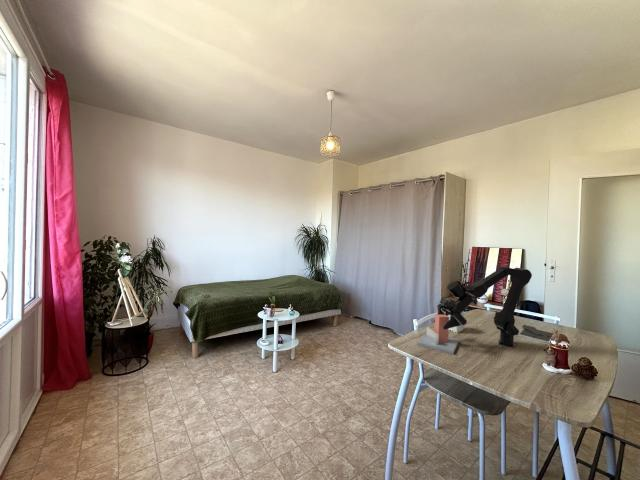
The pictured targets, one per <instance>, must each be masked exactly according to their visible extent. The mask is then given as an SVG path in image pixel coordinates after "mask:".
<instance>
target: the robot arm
mask: <svg viewBox="0 0 640 480" xmlns="http://www.w3.org/2000/svg"><path fill="white" fill-rule="evenodd" d="M507 276H509V280H510V282H511V283H510V287H509V290H508V292H507V295H506V298H505V300H504V303H503V306H502V309H501V310H500V311H499V312H498V311H496V312H495V313H494V317H493V323H494V326H495V327H496V329H497V330H500V332H499V339H498V345H501V346H506V347H511V348H515V347H516V346H515V341H514V340H515V337H514V336H515V335H518V333H519V330H520V329H519V328H517V327H516V326H515V322H516V320H515V315H514V314H515V312H516V311H515V310H516V308H517V306H518V303H519V300H520V296H521V294H522V290H523V288H524V287H525V286H527V285H528V284H529V283H530V281H531V279H532V276H533V274H532V272H531V271H530V269H525V268H520V267H514V268H511V267H509V266H503V265H502V266H499V267H498V269H496V270H495V271H493V272H492V273H490V274H489V275H487V276H486V277H484V278H482V279H481V280H479V281H478V280H477V281H475V282H471V283H469V284H468V285H467V286H464V285H463V284H462V283H461V281H460V280H456V281H452V282H450V283H449V284H448V285H447V286H446V289H447V290H448V291H449V293H450V294H451V295H452V296H453V297H454V298H457V299H456V300H454V299H452V298H449V299H447V298H445V297H443V296H442V297H441V299H440V301H439V304H437V306H436V307H437V309H436V310H437V314H436V315H446V316H448V315H450V320H449V321H448V322H447V323H446V325H445V326H444V327H443V329H444V330H445V329H449V328H452V327H456V326H462V325H463V327H464V326H465V325H466V324H467V323H468V322H467V321H468V320H467V319H466V318H465V316H464V317H463V316H462V315H461V313H462V312H463V311H464V313H466V312H467V310H466V309H468V308H469V306H470V305H471V304H473V305H476V306H477V305H478V303H477V298H479V299H480V298H482V297H483V296H484V295H485V294H486V293H488V290H489V289H490V288H492V286H494V285H495V284H497V283H499V282H500V281H502V280H503V279H505V278H506V277H507ZM474 297H475V298H474ZM433 323H435V319H434V320H433ZM461 324H462V325H461Z"/></svg>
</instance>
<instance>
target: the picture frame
mask: <svg viewBox="0 0 640 480" xmlns="http://www.w3.org/2000/svg"><path fill="white" fill-rule="evenodd" d="M518 330H519V333H518V335H515V336H514V338H519V339H523V340H527V341H530V342H534V343H537V344H541V343H542V345H545V344H549V341H550V339H551V337H552V335H553V334H554V333H555V332H552V331H548V330H543V329H539V328H536V327H535V326H531V325H527V324H523V325H522V326H521V328H520V329H518Z"/></svg>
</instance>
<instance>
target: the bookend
mask: <svg viewBox="0 0 640 480" xmlns="http://www.w3.org/2000/svg"><path fill="white" fill-rule="evenodd" d="M426 332H427V337H428V338H429V339H430V340H431V341H432V342H433V343H435V344H436V345H438V341H439V334H438V333H436V332H435V329H434V330H433V329H432V327H430V326H426Z"/></svg>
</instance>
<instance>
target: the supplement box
mask: <svg viewBox="0 0 640 480" xmlns="http://www.w3.org/2000/svg"><path fill="white" fill-rule="evenodd" d="M461 315H462V316H463V317H464V318H465V316H464V315H465V312H464V311H463V312H462V313H461ZM448 317H449V320H450V315H448ZM461 325H462V324H461ZM449 330H451V331H450V332H452V331H453V333H455V332H456V333H455V334H457V333H459V332H463V331H464V326H463V325H462V326H456V327H452V328H449Z"/></svg>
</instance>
